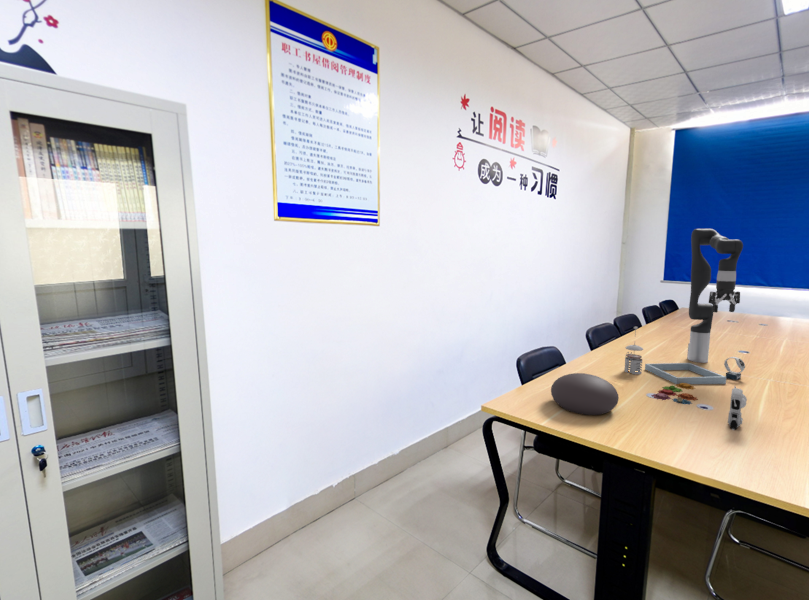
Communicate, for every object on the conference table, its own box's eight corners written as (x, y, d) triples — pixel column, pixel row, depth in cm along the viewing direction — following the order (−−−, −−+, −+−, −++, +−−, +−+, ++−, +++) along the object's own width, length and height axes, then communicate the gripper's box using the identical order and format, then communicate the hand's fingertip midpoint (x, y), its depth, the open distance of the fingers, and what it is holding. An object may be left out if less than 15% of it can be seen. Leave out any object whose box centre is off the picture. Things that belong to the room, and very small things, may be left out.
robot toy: (742, 437, 143) (747, 395, 141) (726, 433, 146) (730, 392, 144) (744, 425, 152) (748, 386, 150) (728, 422, 155) (732, 383, 153)
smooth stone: (591, 398, 181) (593, 365, 179) (632, 421, 156) (634, 383, 155) (539, 402, 177) (540, 368, 175) (572, 427, 152) (574, 387, 150)
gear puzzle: (669, 384, 199) (670, 376, 199) (710, 393, 188) (711, 384, 187) (648, 401, 178) (649, 392, 178) (692, 412, 167) (693, 402, 166)
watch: (740, 382, 200) (743, 360, 199) (721, 378, 207) (723, 356, 205) (745, 380, 203) (747, 358, 202) (725, 376, 210) (727, 354, 208)
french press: (647, 374, 213) (650, 326, 210) (635, 379, 206) (638, 329, 203) (628, 370, 221) (631, 323, 218) (616, 374, 214) (619, 326, 211)
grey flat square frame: (644, 371, 219) (645, 363, 219) (688, 370, 220) (689, 362, 220) (676, 386, 195) (676, 378, 195) (725, 385, 196) (726, 376, 196)
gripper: (733, 279, 211) (730, 310, 214) (706, 279, 211) (703, 311, 213) (746, 280, 204) (743, 313, 206) (718, 280, 203) (715, 313, 205)
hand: (723, 312), depth 209 cm, fingers open, 8 cm apart
